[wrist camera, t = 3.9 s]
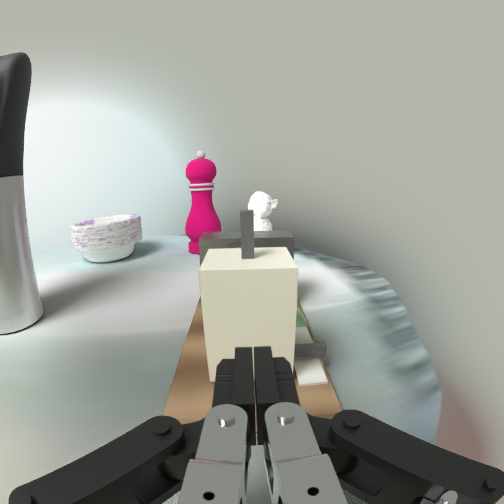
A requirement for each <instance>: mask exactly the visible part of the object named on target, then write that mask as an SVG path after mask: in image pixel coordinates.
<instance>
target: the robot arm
mask: <svg viewBox="0 0 504 504" xmlns="http://www.w3.org/2000/svg"><path fill="white" fill-rule="evenodd" d="M30 85H31V62H30V59H29V57H28V56H27V54H25V53H13V54H9V55H5V56H0V334H6V333H11V332H15V331H19V330H22V329H24V328H26V327H28V326H30V325H32V324H33V323H35V322H36V321H38V320H39V319H40V318H41V316H42V315H43V312H44V310H43V306H42V302H41V298H40V294H39V290H38V285H37V280H36V275H35V270H34V265H33V260H32V254H31V248H30V242H29V235H28V228H27V219H26V209H25V200H24V199H25V198H24V182H23V181H24V180H23V153H24V131H25V120H26V113H27V106H28V99H29V92H30ZM254 386H255V390H254ZM255 404H256V418H255ZM256 422H257V440H258V445H264V464H265V469H266V475H267V480H268V485H269V491H270V496H271V503H272V504H348V503H347V501H346V498H345V495H344V493H343V490H342V488H343V489H345V490H346V491H348V492H350V493H351V494H353V495H355V496H357V497H358V498H360V499H362V500H364V501H365V502H367V503H369V504H495V503H496V502H497V501H498V500H499V499H500V498H501V497H502V496H503V495H504V472H503V471H501V470H500V469H497V468H495V467H492V466H488V465H485V464H482V463H479V462H477V461H474V460H471V459H468V458H466V457H463V456H460V455H458V454H455V453H453V452H450V451H447V450H445V449H442V448H440V447H438V446H435V445H433V444H430V443H428V442H426V441H423V440H421V439H419V438H416V437H414V436H412V435H410V434H407V433H405V432H403V431H401V430H399V429H396V428H394V427H392V426H390V425H388V424H386V423H384V422H382V421H380V420H377V419H375V418H373V417H371V416H369V415H367V414H365V413H363V412H361V411H358V410H343V411H340V412H338V413H337V414H335V415H334V416H333V418H332V419H328V418H320V417H315V416H312V415H310V414H308V413H307V412H305V410H304V409H303V408H302V407H301V405H300V401H299V397H298V393H297V389H296V385H295V380H294V376H293V373H292V368H291V364H290V363H289V362H288V361H287V360H286V359H285V357H273V356H272V350H271V346H256V347H254V372H253V353H252V347H235V359H222V360H221V361H220V363H219V364H218V365H217V368H216V376H215V384H214V393H213V401H212V408H211V409H210V410H209V411H208V412H207V414H206V417H205V418H203V419H201V420H199V421H196V422H192V423H187V424H181V423H180V422H179V421H178V420H177V419H175V418H173V417H170V416H156V417H153V418H151V419H149V420H147V421H146V422H144V423H142V424H141V425H139V426H137V427H136V428H134V429H132V430H130V431H129V432H127V433H125V434H124V435H122V436H120V437H118V438H117V439H115V440H113V441H111V442H109V443H108V444H106V445H104V446H102V447H100V448H99V449H97V450H95V451H93V452H91V453H89V454H87V455H85V456H83V457H81V458H80V459H78V460H76V461H74V462H72V463H70V464H68V465H66V466H64V467H62V468H59V469H57V470H55V471H53V472H51V473H49V474H47V475H45V476H42V477H40V478H38V479H36V480H33V481H31V482H29V483H27V484H24V485H22V486H19V487H17V488H16V489H14V490H13V491H12V493H11V494H10V496H9V504H162V503H163V502H165V501H166V500H167V499H169V498H170V497H172V496H173V495H174V494H176V493H177V492H178V491H180V490H181V492H180V496H179V500H178V504H247V490H248V477H249V464H250V461H249V460H250V457H251V445H256Z"/></svg>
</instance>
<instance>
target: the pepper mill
mask: <svg viewBox="0 0 504 504" xmlns="http://www.w3.org/2000/svg"><path fill="white" fill-rule="evenodd" d="M196 157H197V158H198V159H195V160H193V161H191V162H190V163H189V164H188V165H187V168H186V177H187V178H188V179H189V181H190V183H191V184H189V186H190V187H189V188H190V189H189V191H191V195H192V206H191V210H190V213H189V216H188V219H187V222H186V227H185V228H186V229H185V230H186V231H185V232H186V235H187V236H188V237H189V238H190V239H191V242H189V252H191V253H193V254H200V253H199V238H200V237H201V235H202V234H203V232H221V223H220V221H219V218H218V216H217V214H216V212H215V210H214V207H213V203H212V190H214V186H213V185H214V183H212V181H213V179H214V178H215V176H216V167H215V165H214V163H213V162H212V161H210V160H208V159H204V157H205V153H204V152H203V151H198V152H197V154H196Z"/></svg>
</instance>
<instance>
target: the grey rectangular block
mask: <svg viewBox="0 0 504 504" xmlns="http://www.w3.org/2000/svg"><path fill="white" fill-rule="evenodd" d="M265 247H286V248H287V250H288V251H289V253H290V255H291V256H292V258H293V260H294V237H293V236H292V234H291V233H290V232H289V231H288V230H274V231H254V248H265ZM224 248H241V231H232V232H231V231H230V232H203V234H202V235H201V237H200V238H199V253H200V267H201V265H202V262H203V260H204V258H205V256H206V254H207V251H208V249H224Z"/></svg>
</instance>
